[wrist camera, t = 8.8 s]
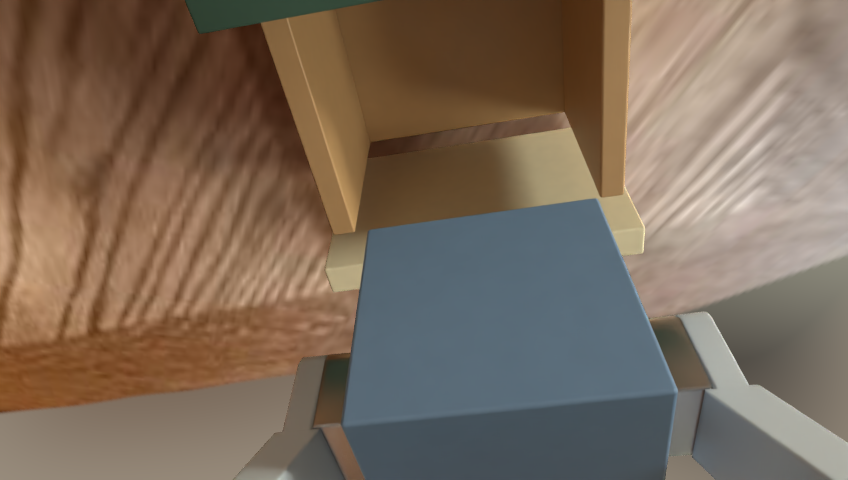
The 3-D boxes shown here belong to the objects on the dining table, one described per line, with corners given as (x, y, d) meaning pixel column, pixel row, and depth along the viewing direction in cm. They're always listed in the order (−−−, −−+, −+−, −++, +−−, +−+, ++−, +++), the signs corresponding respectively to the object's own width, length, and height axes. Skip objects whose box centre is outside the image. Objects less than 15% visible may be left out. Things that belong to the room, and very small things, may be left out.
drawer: (594, 216, 29) (638, 331, 23) (373, 246, 30) (358, 362, 24) (596, -266, 18) (684, -296, 12) (245, -185, 19) (156, -174, 13)
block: (598, 196, 11) (681, 391, 7) (596, 352, 13) (656, 551, 10) (367, 228, 11) (338, 426, 8) (409, 373, 14) (403, 569, 10)
